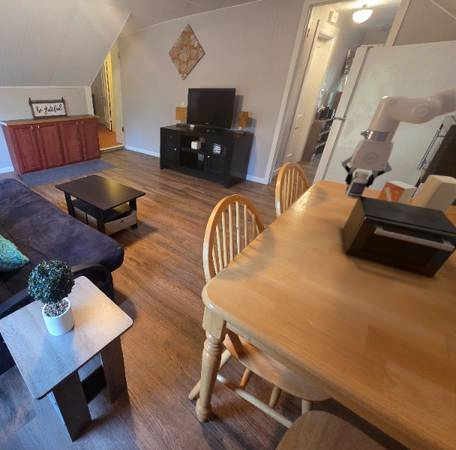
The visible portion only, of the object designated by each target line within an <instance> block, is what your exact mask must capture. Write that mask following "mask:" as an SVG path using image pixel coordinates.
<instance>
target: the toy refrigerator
mask: <svg viewBox="0 0 456 450" xmlns="http://www.w3.org/2000/svg"><path fill="white" fill-rule="evenodd" d="M455 200H456V178H455V177H452V176H447V175H438V174H429V175H428V177H427V178H426V180H425V181H424V183H423V184H422V185H421V187H420V188H419V190H418V192H417V193H416V194H415V196H414V198H413V199H412V201H411V203H410V204H409V205H413V206H418V207H424V208H429V209H435V210H440V211H442V212H443V213H444V214H445V215H446V213H447V211H448V210H449V209H450V207H451V206H452V205H453V204H454V202H455Z"/></svg>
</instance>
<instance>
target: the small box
mask: <svg viewBox="0 0 456 450" xmlns="http://www.w3.org/2000/svg"><path fill="white" fill-rule="evenodd" d="M417 189H418V187H416V186H414V185H411V184H409V183H405V182H403V181H400V180H389V181H386V182H385V183H384V186H383V187H382V189H381V191H380V193H379V194H378V196H377V198H376V199H380V200H385V201H391V202H396V203H402V204H407V205H408V203H409V202H410V200H411V199H412V197H413V196H414V194H415V193H416V191H417Z"/></svg>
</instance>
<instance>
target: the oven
mask: <svg viewBox="0 0 456 450" xmlns="http://www.w3.org/2000/svg"><path fill="white" fill-rule="evenodd" d="M364 216H369V217H374V218H379V219H384V220H389V221H393V222H398V223H403V224H408V225H413V226H418V227H422V228H427V229H432V230H437V231H442V232H446V233H451V234H456V225H455V224H454V222H452V221H451V220H450V218H448V216H447V215H446V213H445V214H444V213H443V212H442V211H440V210H435V209H429V208H424V207H418V206H413V205H410V204H408V203H407V204H402V203H396V202H391V201H385V200H380V199H377V198H375V197H374V198H373V197H368V196H363V195H362V196H359V198H358V199H356V202H355V204H354V206H353V208H352V210H351V212H350V214H349V216H348V218H347V220H346V222H345V223H344V226H343V228H342V236H343V244H344V251H345V252H346V250H347V248H348V246H349V244H350V242H351V240H352V239H353V237H354V235H355V233H356V231H357V229H358V228H359V226H360V224H361V222H362V220H363V218H364Z"/></svg>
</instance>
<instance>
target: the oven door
mask: <svg viewBox="0 0 456 450" xmlns="http://www.w3.org/2000/svg"><path fill="white" fill-rule="evenodd" d="M455 251H456V234H451V233H446V232H442V231H437V230H432V229H427V228H422V227H418V226H413V225H408V224H403V223H398V222H393V221H389V220H384V219H379V218H374V217H369V216H364V218H363V220H362V222H361V224H360V226H359V228H358V229H357V231H356V233H355V235H354V237H353V239H352V240H351V242H350V244H349V246H348V248H347V250H346V251H345V252H344V253H345V255H347V256H351V257H355V258H358V259H363V260H365V261H368V262H369V261H370V262H373V263H377V264H380V265H384V266H387V267H388V266H389V267H392V268H396V269H399V270H403V271H407V272H410V273H413V274H417V275H422V276H425V277H429V278H433V277H434V276H435V275H436V273H437V272H438V271H439V270H440V269H441V268H442V267H443V265H444V264H445V263H446V262H447V261H448V259H449V258H450V257H451V256H452V255H453V254H454V253H455Z"/></svg>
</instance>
